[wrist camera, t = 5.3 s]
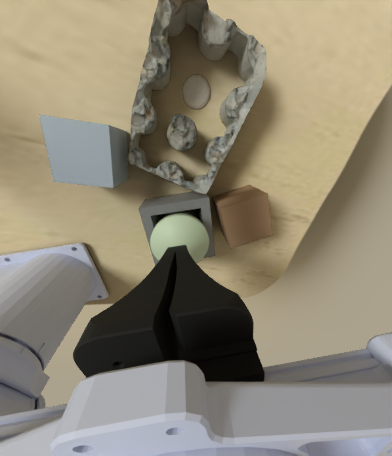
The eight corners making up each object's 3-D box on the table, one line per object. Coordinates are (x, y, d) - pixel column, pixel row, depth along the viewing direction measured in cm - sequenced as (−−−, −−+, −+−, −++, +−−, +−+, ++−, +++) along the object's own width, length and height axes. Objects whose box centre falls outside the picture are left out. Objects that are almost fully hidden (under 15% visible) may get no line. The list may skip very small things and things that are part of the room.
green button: (162, 246, 19) (157, 271, 15) (152, 204, 17) (143, 222, 13) (205, 239, 19) (211, 263, 15) (199, 197, 17) (205, 212, 13)
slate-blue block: (83, 174, 15) (53, 181, 12) (76, 124, 14) (39, 114, 10) (128, 179, 16) (113, 188, 12) (126, 131, 14) (108, 125, 11)
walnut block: (221, 229, 19) (230, 248, 15) (211, 197, 17) (220, 209, 14) (255, 218, 19) (272, 235, 15) (249, 184, 17) (267, 193, 13)
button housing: (158, 249, 19) (155, 265, 17) (145, 199, 17) (138, 208, 14) (210, 241, 19) (215, 255, 17) (204, 189, 17) (209, 197, 14)
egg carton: (172, 7, 12) (168, -62, 8) (259, 71, 13) (289, 41, 10) (127, 157, 15) (110, 159, 12) (200, 191, 17) (206, 202, 13)
